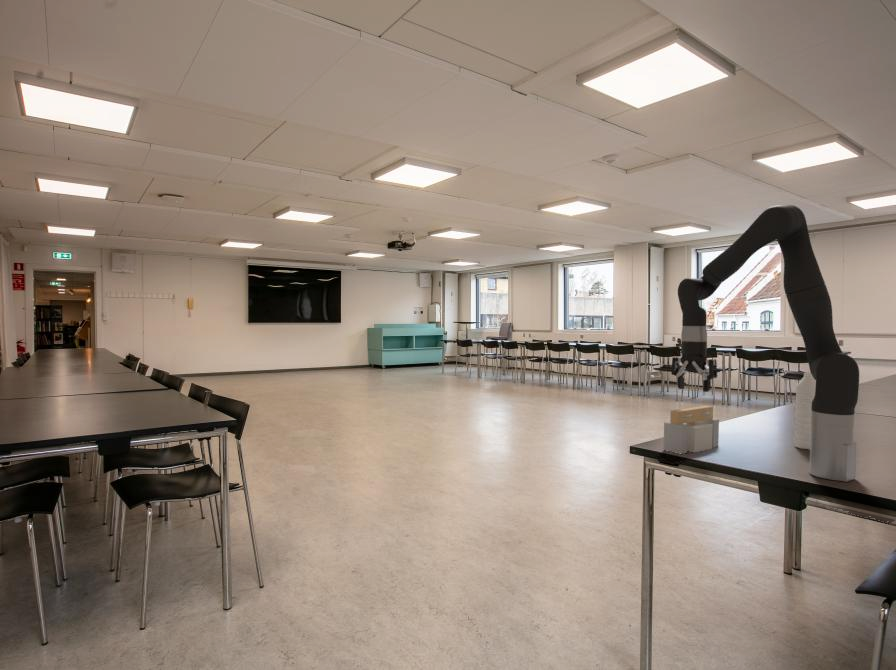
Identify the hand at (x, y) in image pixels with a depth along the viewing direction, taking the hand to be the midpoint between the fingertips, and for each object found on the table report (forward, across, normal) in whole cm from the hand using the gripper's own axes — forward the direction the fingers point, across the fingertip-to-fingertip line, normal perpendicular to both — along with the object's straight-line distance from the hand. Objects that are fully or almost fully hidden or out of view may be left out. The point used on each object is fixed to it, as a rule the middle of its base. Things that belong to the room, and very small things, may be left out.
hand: (693, 390), depth 166 cm
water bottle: (+20, -19, -36) cm, 45 cm away
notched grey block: (+19, 0, 0) cm, 19 cm away
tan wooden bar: (+10, 0, 0) cm, 10 cm away
